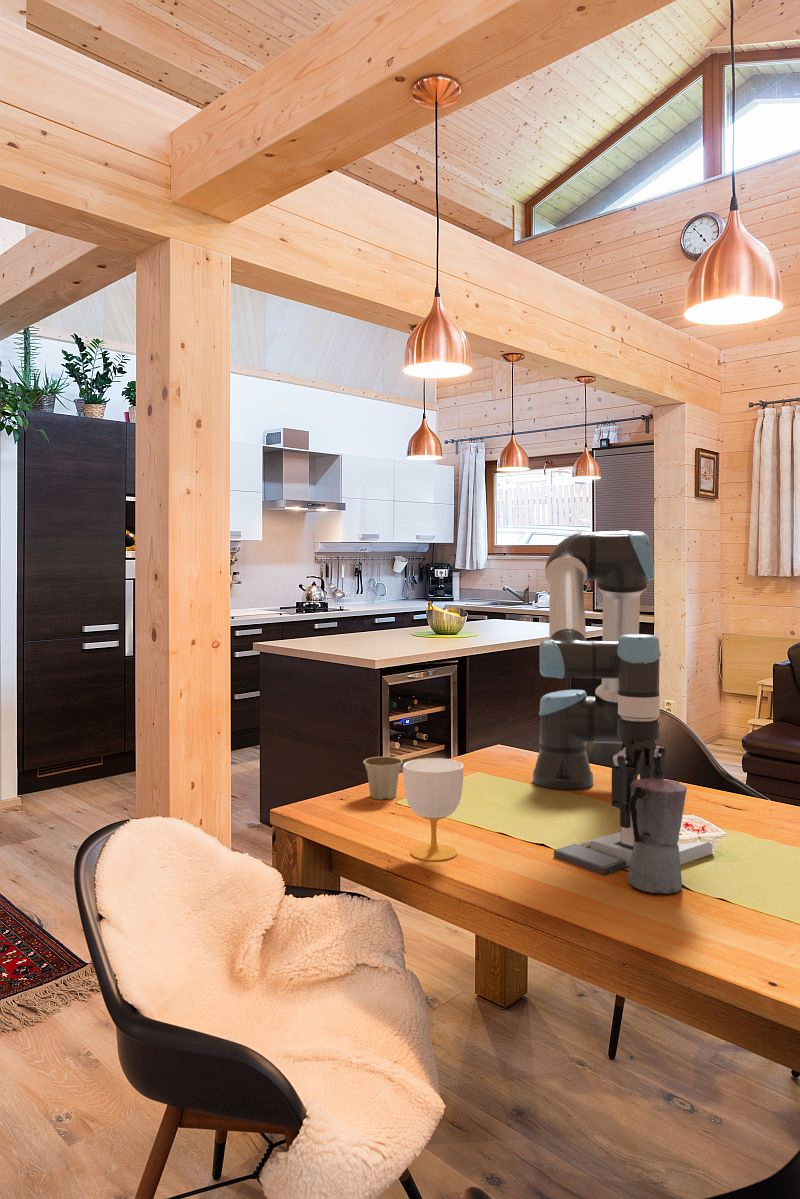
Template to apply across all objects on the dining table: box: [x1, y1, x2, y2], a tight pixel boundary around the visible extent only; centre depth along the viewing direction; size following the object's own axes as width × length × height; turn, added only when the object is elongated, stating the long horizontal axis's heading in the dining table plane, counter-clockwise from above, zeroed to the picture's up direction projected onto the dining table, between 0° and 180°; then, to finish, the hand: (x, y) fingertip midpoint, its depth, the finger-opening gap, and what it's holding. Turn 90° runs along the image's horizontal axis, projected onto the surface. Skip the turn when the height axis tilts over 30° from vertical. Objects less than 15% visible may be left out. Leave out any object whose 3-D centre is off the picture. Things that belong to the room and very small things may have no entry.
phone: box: [553, 843, 627, 876], centre depth 151 cm, size 6×12×1 cm, turn 36°
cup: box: [402, 757, 465, 862], centre depth 156 cm, size 12×12×17 cm
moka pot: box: [627, 769, 688, 895], centre depth 139 cm, size 10×15×20 cm, turn 138°
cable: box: [577, 834, 609, 848], centre depth 161 cm, size 11×1×1 cm, turn 126°
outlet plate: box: [590, 831, 713, 868], centre depth 156 cm, size 18×14×3 cm
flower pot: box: [363, 756, 404, 801], centre depth 197 cm, size 9×9×9 cm
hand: (638, 840), depth 153 cm, fingers open, 5 cm apart
